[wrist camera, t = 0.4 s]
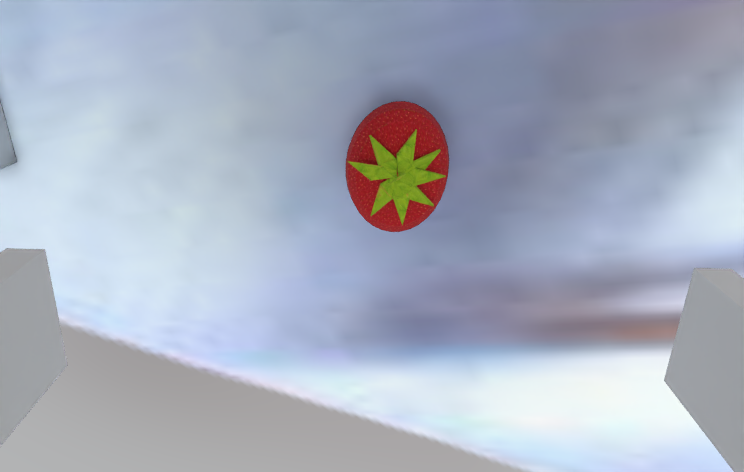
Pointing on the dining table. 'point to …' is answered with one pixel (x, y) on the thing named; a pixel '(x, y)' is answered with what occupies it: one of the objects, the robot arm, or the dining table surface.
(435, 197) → the strawberry
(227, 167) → the dining table surface
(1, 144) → the box
